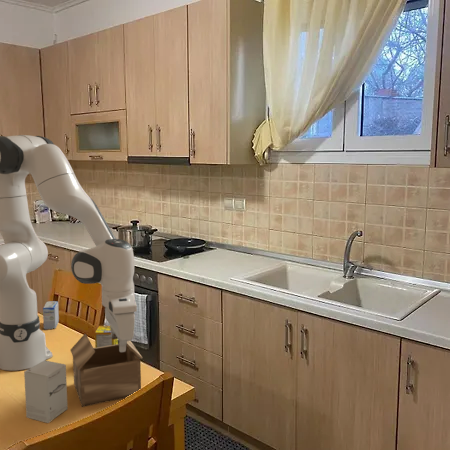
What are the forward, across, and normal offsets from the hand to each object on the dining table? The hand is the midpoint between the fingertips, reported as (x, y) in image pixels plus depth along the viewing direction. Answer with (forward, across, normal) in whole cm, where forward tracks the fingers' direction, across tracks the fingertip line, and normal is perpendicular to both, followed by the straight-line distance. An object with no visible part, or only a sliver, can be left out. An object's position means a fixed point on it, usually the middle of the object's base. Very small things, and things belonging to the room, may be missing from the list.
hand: (118, 344), depth 137 cm
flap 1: (+1, 0, -10) cm, 10 cm away
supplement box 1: (+13, +7, -20) cm, 25 cm away
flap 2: (0, 0, +3) cm, 3 cm away
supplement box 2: (+13, -18, 0) cm, 23 cm away
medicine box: (+14, -59, -13) cm, 62 cm away
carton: (+13, 0, -3) cm, 13 cm away
